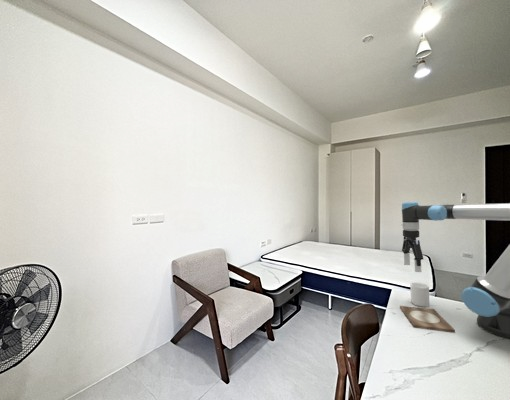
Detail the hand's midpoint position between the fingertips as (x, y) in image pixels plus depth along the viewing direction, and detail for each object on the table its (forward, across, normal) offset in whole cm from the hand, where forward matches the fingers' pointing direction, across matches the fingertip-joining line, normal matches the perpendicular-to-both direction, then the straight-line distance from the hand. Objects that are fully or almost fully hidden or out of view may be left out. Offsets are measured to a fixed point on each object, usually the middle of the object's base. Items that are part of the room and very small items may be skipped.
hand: (412, 268), depth 122 cm
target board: (+22, +11, 0) cm, 25 cm away
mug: (+22, -9, +7) cm, 25 cm away
